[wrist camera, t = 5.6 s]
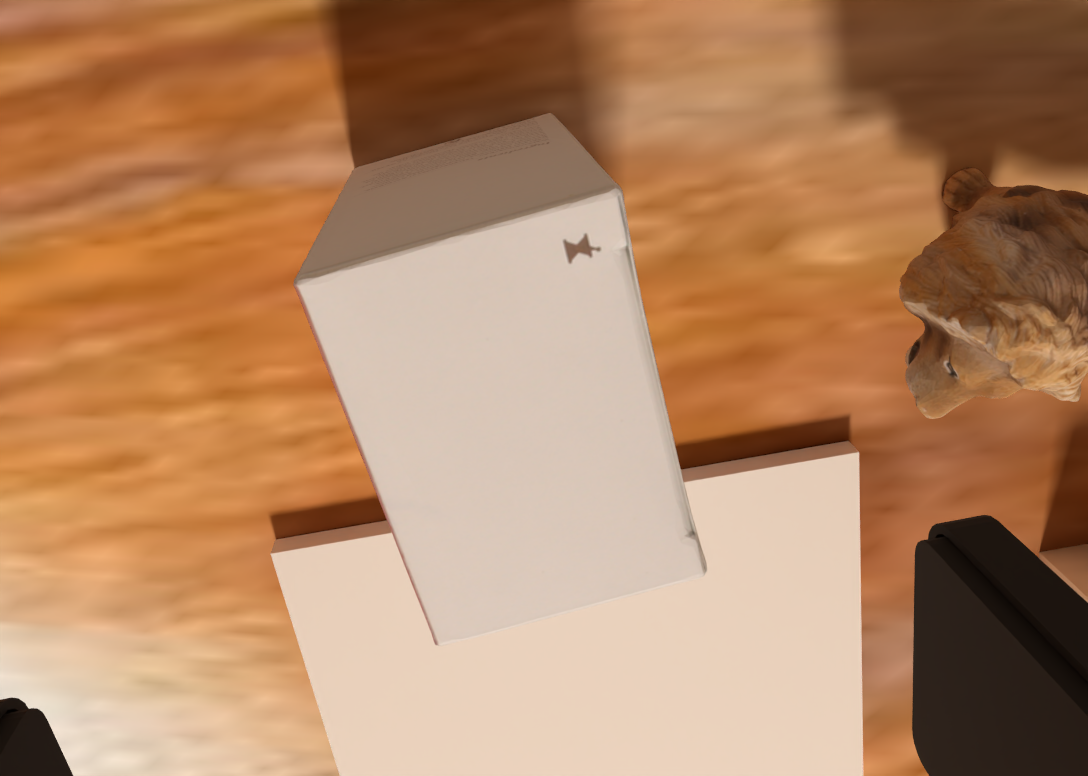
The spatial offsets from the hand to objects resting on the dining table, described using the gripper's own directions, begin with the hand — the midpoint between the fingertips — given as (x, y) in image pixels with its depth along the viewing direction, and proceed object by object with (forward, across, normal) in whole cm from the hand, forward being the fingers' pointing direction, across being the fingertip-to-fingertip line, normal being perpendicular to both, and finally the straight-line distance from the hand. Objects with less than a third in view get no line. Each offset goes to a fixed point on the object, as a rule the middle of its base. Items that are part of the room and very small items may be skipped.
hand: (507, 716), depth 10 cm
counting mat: (+17, -2, +15) cm, 23 cm away
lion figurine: (+17, -16, +3) cm, 24 cm away
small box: (+17, -1, 0) cm, 17 cm away
